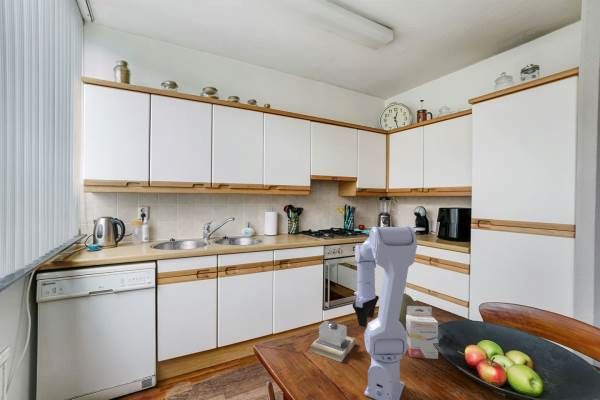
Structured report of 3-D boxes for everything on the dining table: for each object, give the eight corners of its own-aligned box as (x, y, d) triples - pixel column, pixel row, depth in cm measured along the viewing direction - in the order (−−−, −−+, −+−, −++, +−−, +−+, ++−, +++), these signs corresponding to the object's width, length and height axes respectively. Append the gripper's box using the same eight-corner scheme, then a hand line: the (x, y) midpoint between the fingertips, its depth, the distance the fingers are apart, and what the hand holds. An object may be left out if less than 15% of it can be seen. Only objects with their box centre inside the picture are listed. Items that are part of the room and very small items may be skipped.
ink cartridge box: (410, 358, 81) (410, 311, 81) (405, 349, 86) (405, 305, 86) (439, 359, 80) (438, 312, 81) (432, 350, 85) (431, 306, 86)
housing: (340, 347, 83) (340, 329, 83) (319, 340, 87) (318, 323, 87) (346, 340, 87) (346, 323, 87) (325, 334, 92) (325, 318, 92)
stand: (341, 362, 79) (340, 354, 79) (310, 351, 85) (310, 344, 85) (354, 344, 89) (354, 337, 89) (326, 335, 95) (326, 329, 95)
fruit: (383, 325, 103) (383, 288, 103) (411, 325, 102) (411, 288, 103) (392, 340, 91) (392, 298, 92) (424, 341, 91) (424, 299, 91)
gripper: (361, 274, 95) (362, 311, 94) (346, 284, 82) (346, 327, 82) (381, 276, 91) (381, 315, 91) (368, 288, 79) (368, 333, 78)
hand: (366, 321), depth 86 cm, fingers open, 7 cm apart
